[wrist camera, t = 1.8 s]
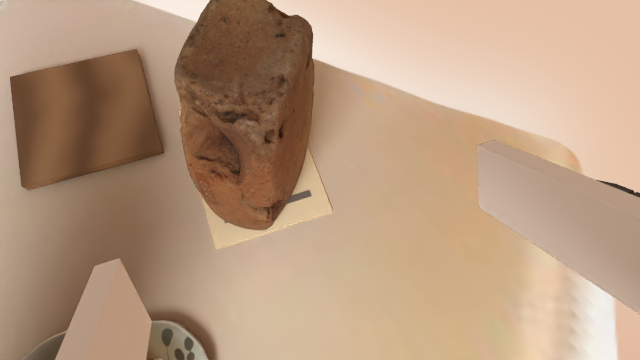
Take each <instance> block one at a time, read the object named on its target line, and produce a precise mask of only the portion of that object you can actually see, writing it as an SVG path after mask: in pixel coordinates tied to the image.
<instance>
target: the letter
mask: <svg viewBox="0 0 640 360" xmlns="http://www.w3.org/2000/svg"><path fill="white" fill-rule="evenodd" d="M178 112H179V116H180V115H181V110H178ZM201 197H202V195H201ZM202 201H203V205H204V209H205V212H206V216H207V220H208V223H209V227H210V231H211V234H212V238H213V242H214V246H215V249H219V248H222V247H225V246H228V245H231V244H234V243H237V242H240V241H243V240H246V239H249V238H253V237H256V236H259V235H262V234H265V233H268V232H271V231H274V230H277V229H280V228H283V227H286V226H289V225H292V224H295V223H298V222H301V221H304V220H307V219H310V218H313V217H317V216H320V215H323V214H326V213H329V212H332V211H333V210H332V207H331V205H330V202H329V200H328V197H327V194H326V192H325V189H324V187H323V184H322V182H321V179H320V176H319V174H318V171H317V169H316V166H315V163H314V161H313V158H312V156H311V153H310V150H309V148H308V146H307V151H306V156H305V160H304V164H303V168H302V171H301V174H300V176H299V179H298V182H297V184H296V187H295V189H294V191H293V193H292V195H291V197H290V198H289V200H288V202H287V204H286V206H285V207H284V209H283V211H282V212H281V213H280V215H279V216H278V218H277V219H276V220H275V222H274V223H273V225H272V226H271V227H269V228H268V229H267V230H250V229H245V228H241V227H238V226H235V225H232V224H230V223H228V222H227V221H225V220H223V219H221V218H220V217H219V216H217V215H216V214H215V213H214V212H213V211H212V210H211V209H210V207H209V206H208V205H207V203H206V202H205V200H204V199H203V197H202Z"/></svg>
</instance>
